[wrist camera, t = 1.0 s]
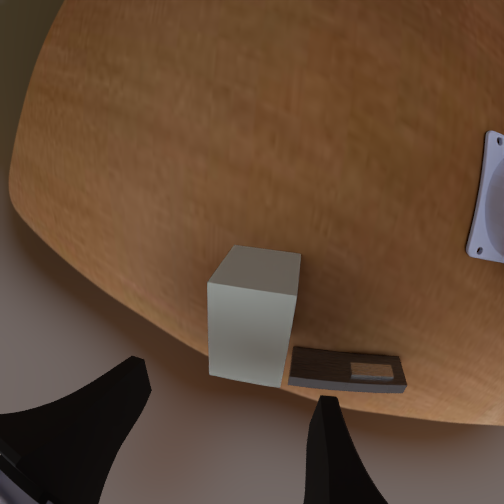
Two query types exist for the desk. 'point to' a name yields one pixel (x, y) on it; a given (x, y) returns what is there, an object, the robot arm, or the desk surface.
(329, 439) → the robot arm
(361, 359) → the price rail
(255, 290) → the carton
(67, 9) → the desk surface
